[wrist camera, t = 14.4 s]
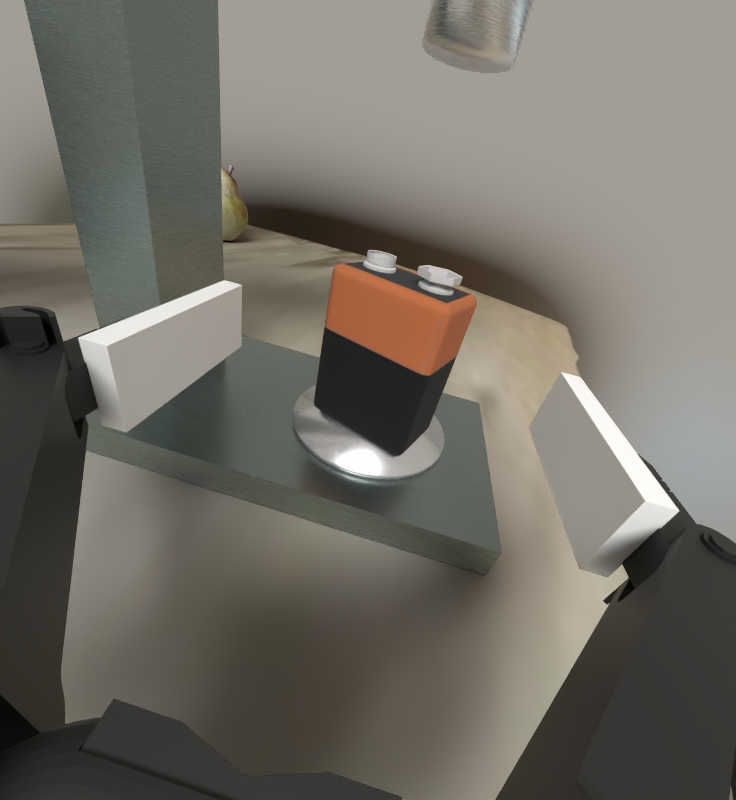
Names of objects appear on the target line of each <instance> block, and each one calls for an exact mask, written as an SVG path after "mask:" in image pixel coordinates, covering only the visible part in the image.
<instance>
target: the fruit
mask: <svg viewBox="0 0 736 800" xmlns="http://www.w3.org/2000/svg"><path fill="white" fill-rule="evenodd" d="M233 169H234V168H233V166H232V165H229V169H228V171H226V170H225V169H223V168H221V180H222V229H223V240H228V241H232V240H234V239H235V238H237V237H238V236H239V235H240V234H241V233H242V232H243V231H244V229H245V228H246V226H247V223H248V212H247V208H246V206H245V204H244V202H243V200H242V199H241V197H240V195H239V192H238V187H237V183H236V181H235V180H234V178H232V176H231V174H232V171H233Z"/></svg>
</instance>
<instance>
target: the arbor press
mask: <svg viewBox="0 0 736 800" xmlns="http://www.w3.org/2000/svg"><path fill="white" fill-rule="evenodd" d="M24 1H25V6H26V10H27V14H28V19H29V23H30V28H31V32H32V36H33V40H34V45H35V49H36V53H37V58H38V62H39V67H40V70H41V75H42V80H43V84H44V88H45V93H46V97H47V101H48V105H49V110H50V114H51V119H52V123H53V127H54V131H55V136H56V140H57V144H58V148H59V153H60V157H61V162H62V166H63V171H64V175H65V179H66V184H67V188H68V192H69V196H70V201H71V205H72V209H73V214H74V218H75V223H76V227H77V231H78V235H79V240H80V244H81V248H82V253H83V257H84V261H85V266H86V270H87V274H88V279H89V283H90V287H91V292H92V296H93V300H94V305H95V309H96V313H97V318H98V322H99V326H100V327H103V326H105V325H110V323H113V322H115V321H118V320H121V319H123V318H128V317H132V316H134V315H137V314H140V313H142V312H145V311H147V310H150V309H152V308H155V307H157V306H160V305H162V304H165V303H168V302H170V301H173V300H175V299H178V298H180V297H183V296H185V295H188V294H190V293H193V292H195V291H198V290H201V289H203V288H206V287H208V286H211V285H213V284H216V283H218V282H221V281H223V280H224V277H223V229H222V180H221V134H220V133H221V132H220V85H219V84H220V83H219V36H218V0H24ZM534 3H535V0H431V3H430V7H429V12H428V17H427V22H426V26H425V31H424V36H423V41H422V47H423V49H424V50H425V51H426V52H427V53H428V54H429V55H430V56H432V57H433V58H435V59H437V60H439V61H441V62H443V63H445V64H447V65H450V66H453V67H456V68H459V69H463V70H468V71H473V72H480V73H501V72H506V71H509V70H511V69H512V68H513V67H514V65H515V61H516V58H517V55H518V52H519V49H520V46H521V43H522V40H523V36H524V34H525V31H526V27H527V24H528V21H529V18H530V15H531V12H532V9H533V6H534ZM319 362H320V358H319V357H315V356H312V355H308V354H305V353H301V352H298V351H294V350H291V349H287V348H284V347H280V346H277V345H273V344H270V343H266V342H263V341H259V340H256V339H252V338H249V337H245V336H242V346H241V347H240V348H238V349H237V350H236V351H234V352H233V353H232V354H230V355H229V356H228V357H226V358H225V359H224V360H222V361H221V362H220V363H218V364H217V365H216V366H214V367H213V368H212V369H210V370H209V371H208V372H206V373H205V374H204V375H203V376H201V377H200V378H199V379H197V380H196V381H195V382H193V383H192V384H191V385H189V386H188V387H187V388H185V389H184V390H183V391H181V392H180V393H179V394H177V395H176V396H175V397H173V398H172V399H171V400H169V401H168V402H167V403H165V404H164V405H163V406H161V407H160V408H159V409H157V410H156V411H155V412H153V413H152V414H151V415H149V416H148V417H147V418H145V419H144V420H143V421H141V422H140V423H139V424H137V425H136V426H135V427H133V428H132V429H131V430H129V431H128V432H127V433H126V432H122V431H119V430H116V429H112V428H109V427H106V426H102V424H101V420H100V417H99V413H98V409H96V410H94V411H92V412H91V413H89V414H88V415H86V419H87V423H88V426H89V427H88V435H87V444H86V450H87V451H91V452H94V453H97V454H100V455H103V456H106V457H110V458H113V459H116V460H119V461H122V462H126V463H129V464H132V465H135V466H138V467H141V468H145V469H148V470H151V471H154V472H157V473H161V474H164V475H167V476H170V477H173V478H176V479H180V480H183V481H186V482H189V483H192V484H196V485H199V486H202V487H205V488H208V489H211V490H215V491H218V492H221V493H224V494H227V495H231V496H234V497H237V498H240V499H243V500H246V501H250V502H253V503H256V504H259V505H262V506H266V507H269V508H272V509H275V510H278V511H281V512H285V513H288V514H291V515H294V516H297V517H301V518H304V519H307V520H310V521H313V522H316V523H320V524H323V525H326V526H329V527H332V528H336V529H339V530H342V531H345V532H348V533H351V534H355V535H358V536H361V537H364V538H367V539H371V540H374V541H377V542H380V543H383V544H386V545H390V546H393V547H396V548H399V549H402V550H406V551H409V552H412V553H415V554H418V555H421V556H425V557H428V558H431V559H434V560H437V561H441V562H444V563H447V564H450V565H453V566H456V567H460V568H463V569H466V570H469V571H472V572H476V573H479V574H482V575H486V574H487V572H488V571H489V570H490V568H491V567H492V565H493V564H494V563H495V561H496V560H497V558H498V557H499V556H500V554H501V547H500V540H499V533H498V527H497V520H496V513H495V506H494V500H493V493H492V486H491V480H490V473H489V466H488V460H487V453H486V446H485V440H484V433H483V426H482V419H481V413H480V406H479V403H476V402H473V401H469V400H466V399H462V398H459V397H455V396H452V395H448V394H445V393H442V395H441V397H440V400H439V402H438V405H437V408H436V410H435V413H434V415H433V418H432V420H431V423H430V425H429V427H428V429H427V430H426V431H425V432H424V433H423V434H422V435H421V436H420V437H419V438H418V439H417V440H416V441H415V442H414V443H413V444H412V445H411V446H410V447H409V448H408V449H407V450H406V451H405V452H404V453H403V454H402V455H400V456H395V455H392V454H391V453H389V452H387V451H386V450H384V449H382V448H381V447H379V446H378V445H376V444H374V443H373V442H371V441H369V440H368V439H366V438H365V437H363V436H361V435H360V434H358V433H356V432H355V431H353V430H352V429H350V428H348V427H347V426H345V425H343V424H342V423H340V422H339V421H337V420H335V419H334V418H332V417H330V416H329V415H327V414H326V413H324V412H322V411H321V410H319V409H318V408H316V407H315V405H314V396H315V389H316V382H317V376H318V369H319Z"/></svg>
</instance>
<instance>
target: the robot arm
mask: <svg viewBox="0 0 736 800" xmlns="http://www.w3.org/2000/svg"><path fill="white" fill-rule="evenodd" d="M241 346H242V285H240V284H237V283H233V282H229V281H226V280H223V281H221V282H218V283H216V284H213V285H211V286H208V287H206V288H203V289H201V290H198V291H195V292H193V293H190V294H188V295H185V296H183V297H180V298H178V299H175V300H173V301H170V302H168V303H165V304H162V305H160V306H157V307H155V308H152V309H150V310H147V311H145V312H142V313H140V314H137V315H134V316H132V317H128V318H123V319H121V320H118V321H115V322H113V323H110V325H105V326H103V327H100V328H99V330H98V329H95V330H92V331H90V332H87V333H85V334H82V335H79V336H77V337H74V338H72V339H69V340H67V341H64V342H63V339H62V336H61V332H60V329H59V326H58V322H57V319H56V316H55V313H54V312H52V311H50V310H49V309H45V308H40V307H31V306H12V307H4V308H0V800H402V797H400V796H397V795H394V794H391V793H388V792H386V791H383V790H380V789H377V788H374V787H371V786H368V785H365V784H362V783H359V782H356V781H353V780H350V779H347V778H345V777H342V776H339V775H336V774H333V773H330V772H323V773H304V774H285V775H266V776H247V775H244V774H242V773H240V772H239V771H238V770H236V769H235V768H234V767H233V766H232V765H231V764H230V763H228V762H227V761H226V760H225V759H224V758H223V757H222V756H220V755H219V754H218V753H217V752H216V751H215V750H214V749H212V748H211V747H210V746H209V745H208V744H207V743H206V742H204V741H203V740H202V739H201V738H200V737H199V736H198V735H196V734H195V733H194V732H193V731H192V730H191V729H190V728H188V727H187V726H186V725H185V724H184V723H183V722H181V721H178V720H175V719H172V718H169V717H166V716H163V715H160V714H157V713H154V712H151V711H148V710H146V709H143V708H140V707H137V706H134V705H131V704H128V703H125V702H122V701H119V700H116V699H113V701H112V702H111V704H110V705H109V707H108V708H107V710H106V711H105V713H104V714H103V716H102V717H101V718H92V719H87V720H81V721H76V722H72V723H69V724H66V725H65V701H64V695H63V689H62V683H61V662H62V653H63V644H64V635H65V627H66V618H67V609H68V601H69V592H70V583H71V575H72V566H73V557H74V548H75V540H76V531H77V522H78V514H79V505H80V496H81V488H82V479H83V470H84V461H85V453H86V444H87V435H88V427H89V426H88V423H87V419H86V415H88V414H89V413H91V412H92V411H94V410H96V409H98V413H99V417H100V420H101V424H102V426H106V427H109V428H112V429H116V430H119V431H122V432H126V433H127V432H128V431H129V430H131V429H132V428H133V427H135V426H136V425H137V424H139V423H140V422H141V421H143V420H144V419H145V418H147V417H148V416H149V415H151V414H152V413H153V412H155V411H156V410H157V409H159V408H160V407H161V406H163V405H164V404H165V403H167V402H168V401H169V400H171V399H172V398H173V397H175V396H176V395H177V394H179V393H180V392H181V391H183V390H184V389H185V388H187V387H188V386H189V385H191V384H192V383H193V382H195V381H196V380H197V379H199V378H200V377H201V376H203V375H204V374H205V373H206V372H208V371H209V370H210V369H212V368H213V367H214V366H216V365H217V364H218V363H220V362H221V361H222V360H224V359H225V358H226V357H228V356H229V355H230V354H232V353H233V352H234V351H236V350H237V349H238V348H240V347H241ZM529 430H530V433H531V436H532V439H533V441H534V444H535V447H536V450H537V452H538V455H539V458H540V461H541V463H542V466H543V469H544V472H545V475H546V477H547V480H548V483H549V486H550V488H551V491H552V494H553V497H554V499H555V502H556V505H557V508H558V511H559V513H560V516H561V519H562V522H563V524H564V527H565V530H566V533H567V535H568V538H569V541H570V544H571V547H572V549H573V552H574V555H575V558H576V560H577V563H578V566H579V569H582V570H585V571H589V572H592V573H595V574H599V575H602V576H605V577H609V576H610V575H611V574H612V573H613V572H614V571H615V570H616V569H617V568H618V567H620V566H621V565H622V564H623V566H624V568H625V570H626V572H627V574H628V577H629V578H628V579H627V580H626V581H625V582H624V583H623V584H622V585H620V586H619V587H618V588H617V589H616V590H615V591H614V592H612V593H611V594H610V595H609V596H608V597H607V598H606V599H604V600H603V601H604V602H605V603H606V604H609V603H610V604H609V606H608V607H607V609H606V611H605V612H604V614H603V616H602V618H601V619H600V621H599V623H598V624H597V626H596V628H595V630H594V631H593V633H592V635H591V637H590V638H589V640H588V642H587V643H586V645H585V647H584V649H583V650H582V652H581V654H580V655H579V657H578V659H577V661H576V662H575V664H574V666H573V667H572V669H571V671H570V673H569V674H568V676H567V678H566V679H565V681H564V683H563V685H562V686H561V688H560V690H559V692H558V693H557V695H556V697H555V698H554V700H553V702H552V704H551V705H550V707H549V709H548V710H547V712H546V714H545V716H544V717H543V719H542V721H541V722H540V724H539V726H538V728H537V729H536V731H535V733H534V735H533V736H532V738H531V740H530V741H529V743H528V745H527V747H526V748H525V750H524V752H523V753H522V755H521V757H520V759H519V760H518V762H517V764H516V765H515V767H514V769H513V771H512V772H511V774H510V776H509V777H508V779H507V781H506V783H505V784H504V786H503V788H502V790H501V791H500V793H499V795H498V796H497V798H496V800H729V795H730V787H732V793H733V800H736V544H735V543H734V542H733V541H731V540H730V539H729V538H727V537H726V536H724V535H722V534H721V533H719V532H717V531H715V530H713V529H711V528H708V527H706V526H703V525H699V524H696V523H695V521H694V520H693V519H692V517H691V516H690V515H689V514H688V512H687V511H686V510H685V508H684V507H683V506H682V504H681V503H680V502H679V500H678V499H677V498H676V497H675V495H674V494H673V493H672V492H670V489H669V488H668V486H667V485H666V483H665V482H664V481H662V478H661V477H660V476H659V474H658V473H657V472H656V470H655V469H654V468H653V466H652V465H650V464H649V463H648V462H647V461H646V460H644V459H643V458H642V457H641V456H640V455H639V454H638V453H636V452H635V450H634V449H633V448H632V446H631V445H630V444H629V442H628V441H627V440H626V438H625V437H624V436H623V434H622V433H621V431H620V430H619V429H618V427H617V426H616V425H615V423H614V422H613V421H612V419H611V418H610V417H609V415H608V414H607V413H606V411H605V410H604V409H603V407H602V406H601V404H600V403H599V402H598V401H597V399H596V398H595V396H594V395H593V394H592V392H591V391H590V390H589V388H588V387H587V386H586V384H585V383H584V382H583V380H582V379H581V377H577V376H574V375H570V374H566V373H563V372H561V373H560V374H559V376H558V378H557V379H556V381H555V383H554V384H553V386H552V388H551V390H550V391H549V393H548V395H547V396H546V398H545V400H544V401H543V403H542V405H541V407H540V408H539V410H538V412H537V413H536V415H535V417H534V418H533V420H532V422H531V423H530V425H529Z"/></svg>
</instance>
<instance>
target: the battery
mask: <svg viewBox="0 0 736 800" xmlns="http://www.w3.org/2000/svg"><path fill="white" fill-rule="evenodd" d="M396 258H397V257H396V256H394V255H391V254H389V253H385V252H382V251H376V250H369V251H368V254H367V259H366V260H365V261H364V262H356V263H345V264H339V265H336V266H335V267H334V269H333V275H332V281H331V288H330V295H329V301H328V308H327V315H326V322H325V328H324V335H323V342H322V349H321V355H320V362H319V369H318V376H317V382H316V389H315V396H314V405H315V407H316V408H318V409H319V410H321V411H322V412H324V413H326V414H327V415H329V416H330V417H332V418H334V419H335V420H337V421H339V422H340V423H342V424H343V425H345V426H347V427H348V428H350V429H352V430H353V431H355V432H356V433H358V434H360V435H361V436H363V437H365V438H366V439H368V440H369V441H371V442H373V443H374V444H376V445H378V446H379V447H381V448H382V449H384V450H386V451H387V452H389V453H391V454H392V455H395V456H400V455H402V454H403V453H404V452H405V451H406V450H407V449H408V448H409V447H410V446H411V445H412V444H413V443H414V442H415V441H416V440H417V439H418V438H419V437H420V436H421V435H422V434H423V433H424V432H425V431H426V430H427V429H428V427H429V425H430V423H431V420H432V418H433V415H434V413H435V410H436V408H437V405H438V402H439V400H440V397H441V395H442V392H443V390H444V387H445V384H446V382H447V379H448V377H449V374H450V372H451V369H452V366H453V364H454V361H455V359H456V356H457V354H458V351H459V348H460V346H461V343H462V341H463V338H464V336H465V333H466V330H467V328H468V325H469V323H470V320H471V318H472V315H473V313H474V310H475V307H476V304H477V301H476V298H475V297H474V296H473V295H472V294H470V293H467V292H464V291H462V290H459V289H456V288H454V287H453V286H456V285H460V283H461V280H462V278H463V277H462V276H459V275H458V274H456V273H454V272H451V271H450V270H446V269H442V268H438V267H434V266H430V265H425V266H419V268H418V271H417V274H415V273H412V272H410V271H407V270H404V269H401V268H399V267H396V266H395V263H396Z"/></svg>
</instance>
